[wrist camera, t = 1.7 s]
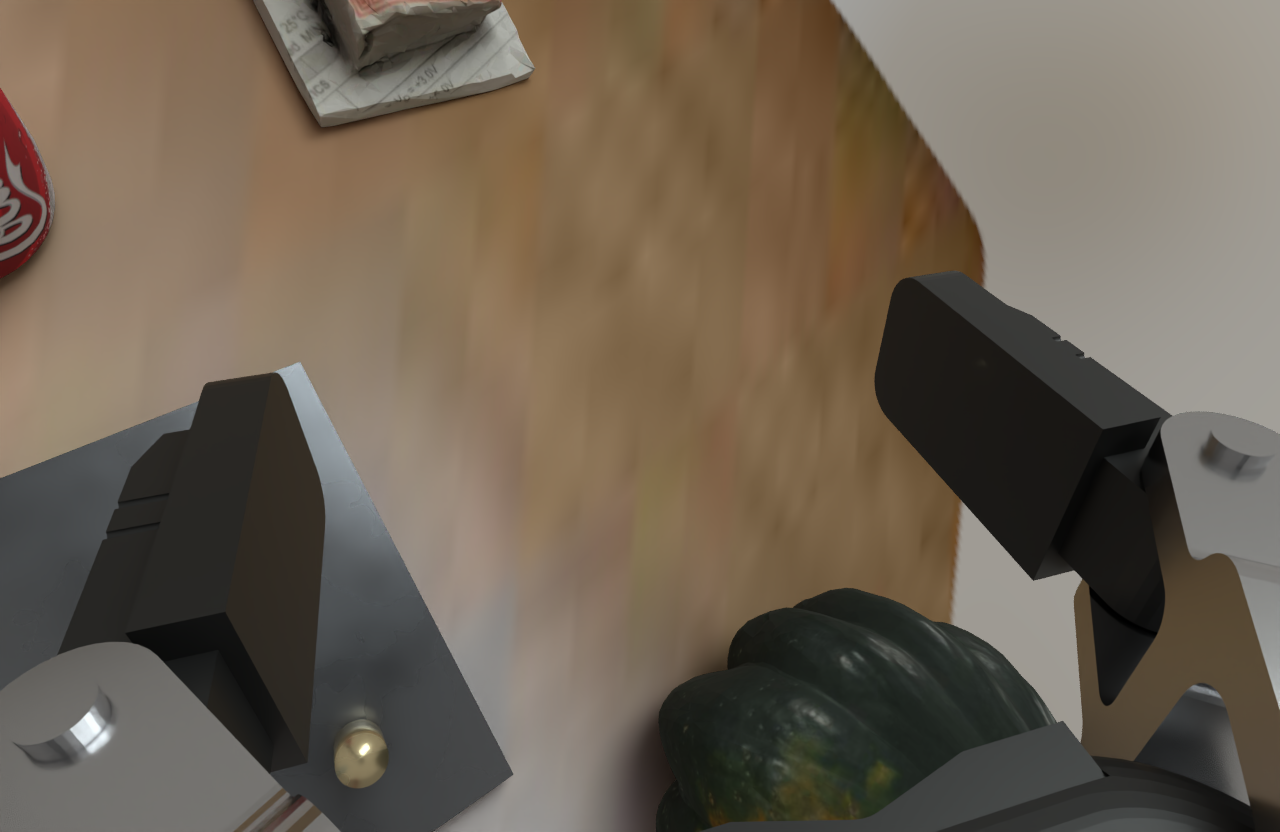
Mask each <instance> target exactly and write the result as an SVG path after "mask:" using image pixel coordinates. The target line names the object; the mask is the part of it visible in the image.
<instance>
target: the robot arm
mask: <svg viewBox="0 0 1280 832" xmlns="http://www.w3.org/2000/svg"><path fill="white" fill-rule="evenodd" d="M875 391H876V396H877V400H878V402H879V405H880V407H881V409H882V411H883V413H884V414H885V415H886V417H887V418H888V419H889V420H890V421H891V422H892V423H893V425H894V426H895V427H896V428H897V429H898V430H899V431H900V432H901V433H902V435H903V436H904V437H905V438H906V439H907V440H908V441H909V442H910V444H911V445H912V446H913V447H914V448H915V449H916V450H917V451H918V452H919V454H920V455H921V456H922V457H923V458H924V459H925V460H926V461H927V462H928V464H929V465H930V466H931V467H932V468H933V469H934V470H935V471H936V473H937V474H938V475H939V476H940V477H941V478H942V479H943V480H944V481H945V483H946V484H947V485H948V486H949V487H950V488H951V489H952V490H953V492H954V493H955V494H956V495H957V496H958V497H959V498H960V499H961V500H962V502H963V503H964V504H965V505H966V506H967V507H968V508H969V509H970V510H971V512H972V513H973V514H974V515H975V516H976V517H977V518H978V519H979V521H980V522H981V523H982V524H983V525H984V526H985V527H986V528H987V529H988V530H989V532H990V533H991V534H992V535H993V536H994V537H995V538H996V540H997V541H998V542H999V543H1000V544H1001V545H1002V546H1003V547H1004V548H1005V550H1006V551H1007V552H1008V553H1009V554H1010V555H1011V556H1012V557H1013V558H1014V560H1015V561H1016V562H1017V563H1018V564H1019V565H1020V566H1021V567H1022V569H1023V570H1024V571H1025V572H1026V573H1027V574H1028V575H1029V576H1030V577H1031V579H1032V580H1033V581H1034V580H1038V579H1042V578H1046V577H1050V576H1053V575H1057V574H1061V573H1065V572H1069V571H1073V570H1075V571H1076V572H1077V573H1078V574H1079V575H1080V576H1081V578H1082V581H1081V583H1080V585H1079V586H1078V589H1077V590H1076V593H1075V596H1074V612H1075V625H1076V638H1077V651H1078V664H1079V678H1080V691H1081V704H1082V718H1083V729H1082V738H1081V743H1080V742H1079V741H1078V739H1077V738H1076V737H1075V736H1074V734H1073V733H1072V732H1071V731H1070V730H1069V728H1068V727H1067V726H1066V724H1065V723H1064V722H1063V721H1061V722H1058V723H1055V724H1051V725H1048V726H1045V727H1041V728H1038V729H1035V730H1032V731H1028V732H1025V733H1022V734H1018V735H1015V736H1012V737H1009V738H1005V739H1002V740H999V741H995V742H992V743H989V744H986V745H982V746H979V747H976V748H972V749H969V750H966V751H963V752H961V753H960V754H958V755H957V756H955V757H954V758H953V759H951V760H950V761H948V762H947V763H946V764H944V765H943V766H942V767H940V768H939V769H937V770H936V771H935V772H933V773H932V774H930V775H929V776H928V777H926V778H925V779H923V780H922V781H921V782H919V783H918V784H916V785H915V786H914V787H912V788H911V789H910V790H908V791H907V792H905V793H904V794H903V795H901V796H900V797H898V798H897V799H896V800H894V801H893V802H891V803H890V804H889V805H887V806H886V807H885V808H883V809H882V810H880V811H879V812H877V813H876V814H874V815H872V816H870V817H867V818H863V819H856V820H812V821H755V822H729V823H726V824H723V825H719V826H716V827H713V828H709V829H706V830H703V831H699V832H1280V434H1278V433H1276V432H1275V431H1272V430H1270V429H1268V428H1266V427H1264V426H1261V425H1259V424H1256V423H1254V422H1251V421H1248V420H1245V419H1242V418H1238V417H1235V416H1230V415H1226V414H1220V413H1213V412H1186V413H1180V414H1177V415H1175V416H1172V415H1170V414H1169V413H1168V412H1166V411H1165V410H1163V409H1162V408H1161V407H1159V406H1158V405H1156V404H1155V403H1154V402H1152V401H1151V400H1149V399H1148V398H1147V397H1145V396H1144V395H1143V394H1141V393H1140V392H1138V391H1137V390H1135V389H1134V388H1132V387H1131V386H1130V385H1129V384H1127V383H1126V382H1124V381H1123V380H1122V379H1120V378H1118V377H1117V376H1116V375H1115V374H1113V373H1111V372H1110V371H1109V370H1108V369H1106V368H1105V367H1103V366H1102V365H1100V364H1099V363H1098V362H1096V361H1095V360H1094V359H1092V358H1091V357H1089V358H1085V357H1084V352H1082V351H1081V350H1080V349H1078V348H1077V347H1075V346H1074V345H1073V344H1071V343H1070V342H1068V341H1067V340H1064V341H1061V339H1060V335H1058V334H1057V333H1056V332H1054V331H1053V330H1051V329H1050V328H1049V327H1047V326H1046V325H1045V324H1043V323H1042V322H1040V321H1039V320H1037V319H1036V318H1035V317H1033V316H1032V315H1030V314H1027V313H1025V312H1022V311H1020V310H1018V309H1015V308H1013V307H1010V306H1008V305H1006V304H1005V303H1003V302H1002V301H1001V300H999V299H998V298H996V297H995V296H994V295H992V294H991V293H989V292H988V291H987V290H985V289H984V288H983V287H981V286H980V285H978V284H977V283H976V282H974V281H973V280H972V279H970V278H969V277H967V276H966V275H965V274H963V273H961V272H958V271H949V272H942V273H935V274H929V275H922V276H916V277H909V278H905V279H902V280H901V281H900V282H899V283H898V284H897V285H896V287H895V288H894V290H893V293H892V296H891V300H890V305H889V310H888V314H887V319H886V324H885V329H884V333H883V338H882V343H881V347H880V352H879V357H878V361H877V366H876V371H875ZM118 505H119V509H115V510H114V512H113V515H112V517H111V520H110V522H109V525H108V527H107V530H106V534H107V539H104V540H102V543H101V545H100V548H99V550H98V553H97V555H96V558H95V560H94V563H93V565H92V568H91V570H90V573H89V576H88V578H87V581H86V583H85V586H84V588H83V591H82V593H81V596H80V598H79V601H78V604H77V606H76V609H75V611H74V614H73V616H72V619H71V621H70V624H69V626H68V629H67V631H66V634H65V637H64V639H63V642H62V644H61V647H60V649H59V652H58V654H57V656H55V657H53V658H51V659H49V660H47V661H44V662H42V663H41V664H39V665H37V666H35V667H34V668H32V669H30V670H28V671H27V672H25V673H24V674H22V675H21V676H19V677H18V678H17V679H15V680H14V681H12V682H11V683H9V684H8V685H7V686H6V687H5V688H3V689H2V690H1V691H0V832H341V831H340V830H339V829H338V828H337V827H336V826H335V825H334V824H333V823H332V822H331V821H330V820H329V819H328V818H327V817H326V816H325V815H324V814H323V813H322V812H321V811H320V810H319V809H318V808H317V807H316V806H315V805H314V804H312V803H311V802H310V801H309V800H308V799H306V798H305V797H303V796H302V795H300V794H297V795H296V796H295V797H293V796H291V795H290V794H289V793H288V792H287V791H286V790H284V789H283V788H282V787H281V786H280V785H279V783H278V782H277V781H276V780H275V779H274V778H273V777H272V776H271V775H270V773H271V772H274V771H278V770H282V769H286V768H290V767H293V766H297V765H301V764H305V763H308V750H309V737H310V723H311V710H312V696H313V683H314V669H315V656H316V643H317V629H318V616H319V602H320V589H321V575H322V562H323V548H324V535H325V504H324V496H323V491H322V486H321V481H320V478H319V474H318V471H317V468H316V465H315V463H314V460H313V457H312V454H311V452H310V449H309V446H308V443H307V441H306V438H305V435H304V432H303V430H302V427H301V424H300V421H299V419H298V416H297V413H296V410H295V408H294V405H293V402H292V399H291V397H290V394H289V391H288V389H287V386H286V384H285V382H284V380H283V378H282V377H281V376H280V374H278V373H277V372H274V373H267V374H260V375H254V376H247V377H241V378H234V379H227V380H221V381H214V382H208V383H206V384H205V386H204V388H203V390H202V393H201V396H200V399H199V402H198V405H197V409H196V412H195V415H194V418H193V421H192V424H191V427H190V429H189V430H183V431H177V432H171V433H165V434H163V435H162V436H161V437H160V438H159V439H158V440H157V441H156V442H155V443H154V444H153V445H152V446H151V447H150V448H149V449H148V450H147V451H146V452H145V453H144V454H143V455H142V456H141V457H140V458H139V459H138V461H137V462H136V463H135V464H134V465H133V466H132V467H131V469H130V471H129V474H128V476H127V479H126V482H125V484H124V487H123V489H122V492H121V494H120V497H119V499H118Z"/></svg>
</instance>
